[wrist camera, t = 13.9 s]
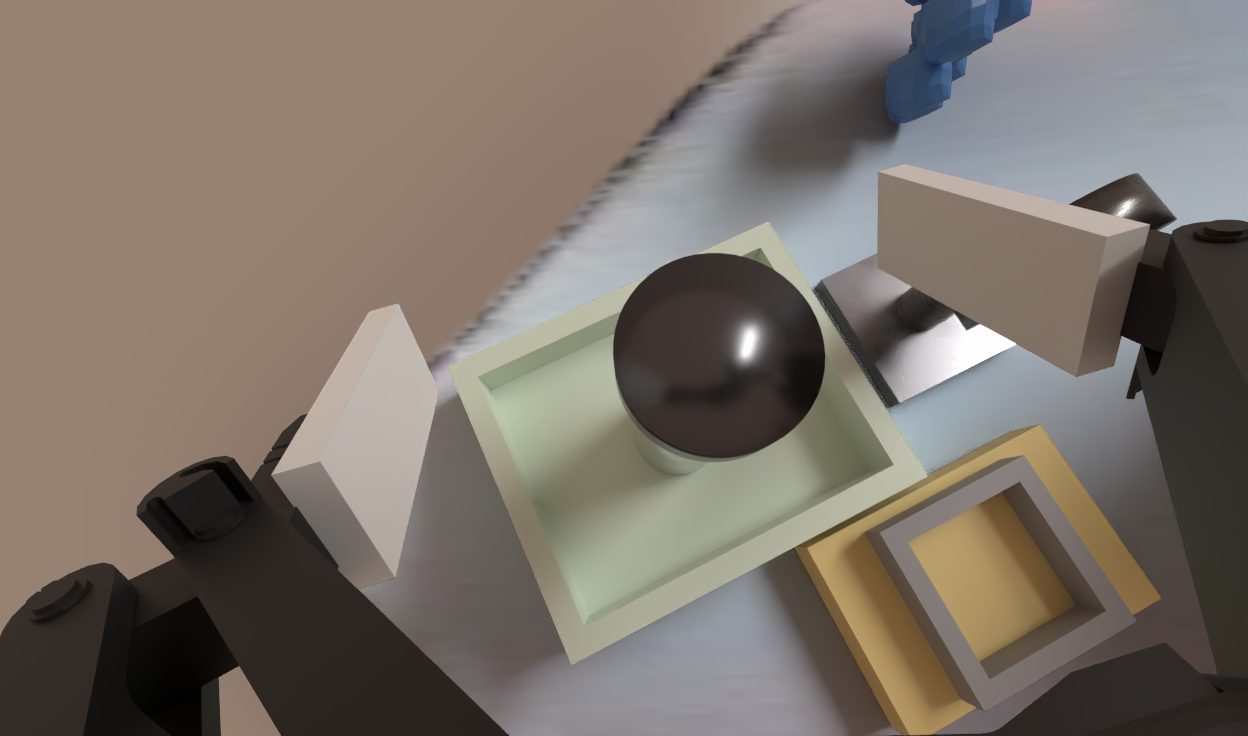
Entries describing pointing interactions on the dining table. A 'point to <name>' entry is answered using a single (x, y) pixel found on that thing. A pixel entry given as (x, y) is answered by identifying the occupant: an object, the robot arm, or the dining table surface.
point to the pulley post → (942, 309)
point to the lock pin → (715, 360)
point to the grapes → (943, 51)
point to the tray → (647, 498)
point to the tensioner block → (975, 581)
